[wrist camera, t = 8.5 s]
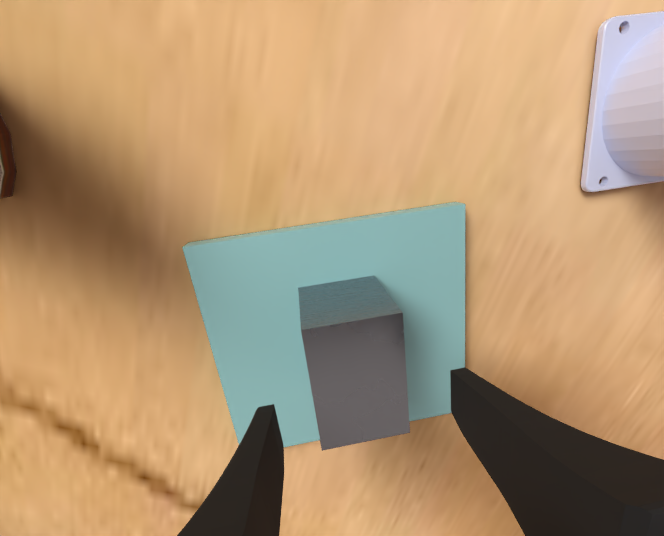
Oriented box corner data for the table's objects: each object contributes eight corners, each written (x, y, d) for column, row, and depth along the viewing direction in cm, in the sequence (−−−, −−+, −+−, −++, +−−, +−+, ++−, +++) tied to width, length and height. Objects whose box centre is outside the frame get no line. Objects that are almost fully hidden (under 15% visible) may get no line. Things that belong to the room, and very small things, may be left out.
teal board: (455, 201, 17) (465, 203, 16) (457, 399, 21) (464, 409, 20) (188, 242, 16) (182, 247, 15) (244, 442, 20) (242, 455, 19)
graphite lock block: (374, 275, 17) (402, 312, 13) (382, 371, 19) (409, 432, 14) (298, 287, 16) (300, 330, 12) (314, 384, 18) (321, 450, 14)
